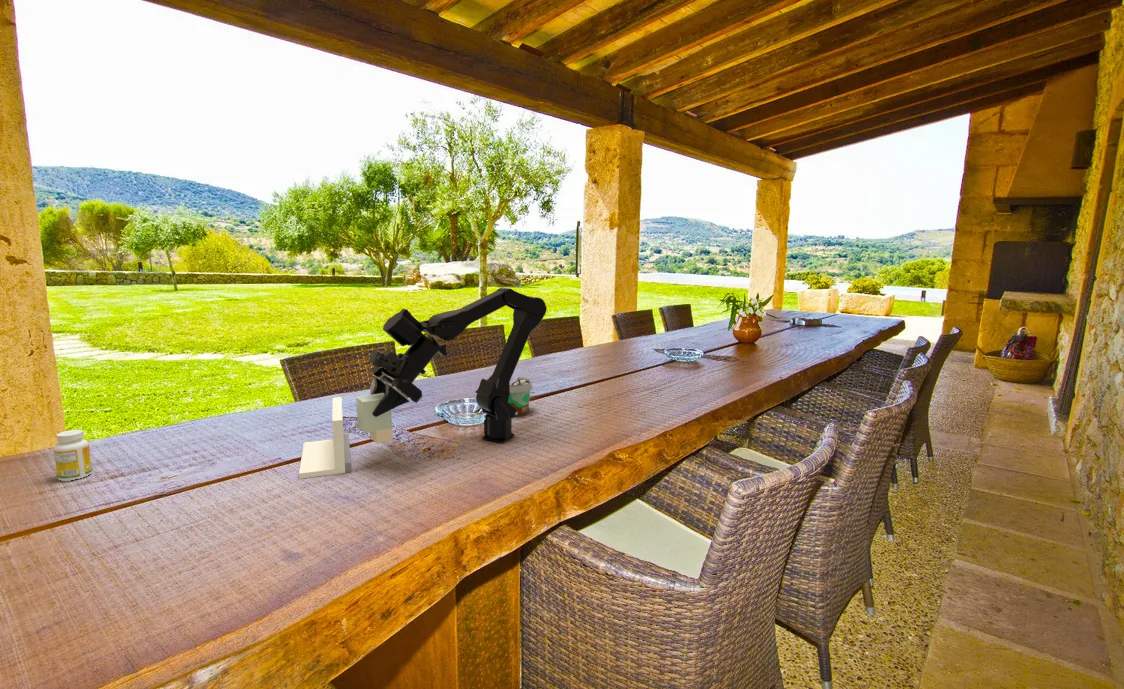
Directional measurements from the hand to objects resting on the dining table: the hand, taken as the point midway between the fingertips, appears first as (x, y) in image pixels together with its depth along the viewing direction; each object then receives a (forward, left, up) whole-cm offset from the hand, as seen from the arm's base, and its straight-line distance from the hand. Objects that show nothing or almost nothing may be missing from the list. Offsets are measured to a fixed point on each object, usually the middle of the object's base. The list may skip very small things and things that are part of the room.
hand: (370, 412), depth 116 cm
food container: (-11, -51, -13) cm, 53 cm away
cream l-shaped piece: (+12, +2, -12) cm, 17 cm away
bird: (+30, -35, -13) cm, 48 cm away
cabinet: (-1, -1, -7) cm, 7 cm away
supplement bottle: (+50, +32, -13) cm, 61 cm away
